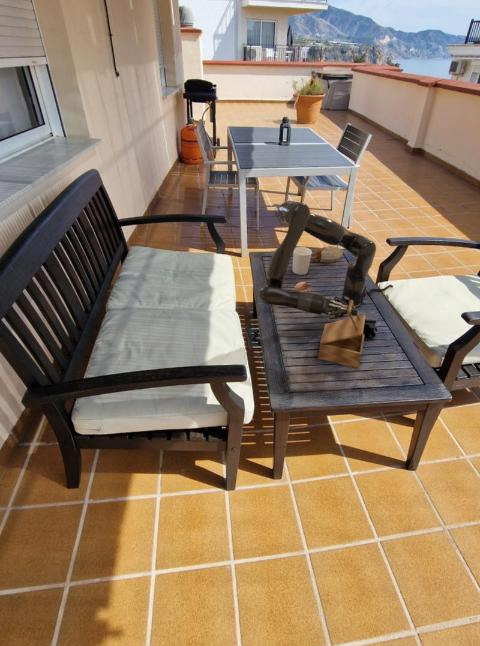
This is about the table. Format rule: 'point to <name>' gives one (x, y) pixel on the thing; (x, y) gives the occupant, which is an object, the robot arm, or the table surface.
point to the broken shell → (302, 286)
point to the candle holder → (301, 260)
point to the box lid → (344, 327)
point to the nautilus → (327, 254)
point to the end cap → (369, 329)
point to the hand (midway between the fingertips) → (357, 312)
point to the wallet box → (343, 351)
